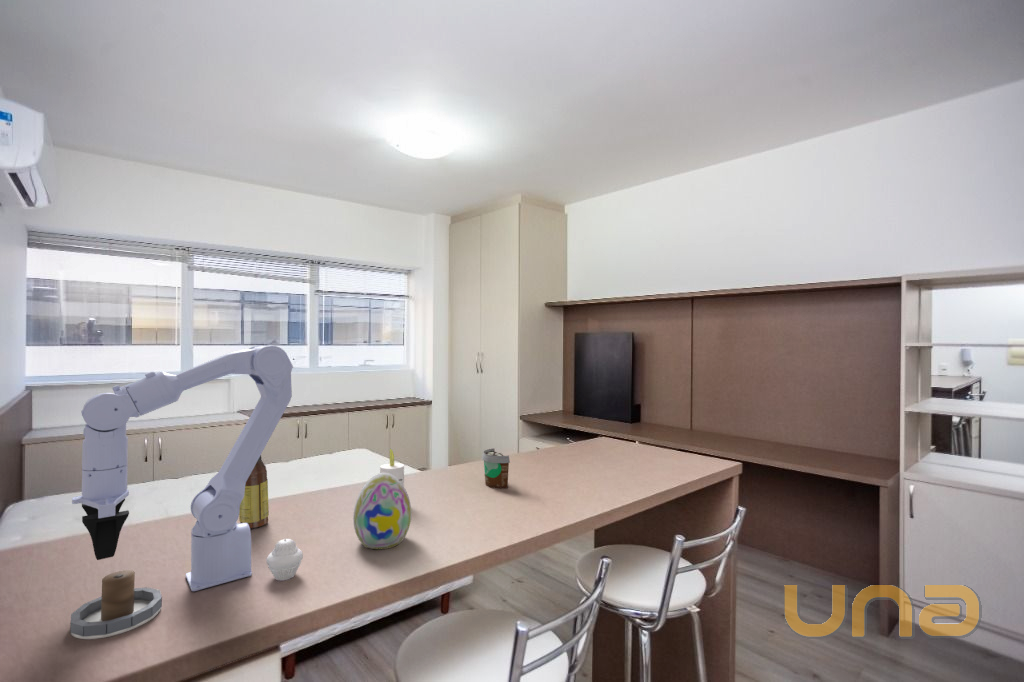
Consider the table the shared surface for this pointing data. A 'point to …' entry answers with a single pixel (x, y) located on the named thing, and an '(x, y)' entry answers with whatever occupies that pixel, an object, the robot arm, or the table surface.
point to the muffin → (284, 559)
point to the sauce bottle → (255, 498)
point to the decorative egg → (382, 512)
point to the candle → (393, 468)
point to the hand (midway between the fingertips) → (104, 550)
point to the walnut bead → (117, 595)
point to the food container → (495, 469)
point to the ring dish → (92, 627)
